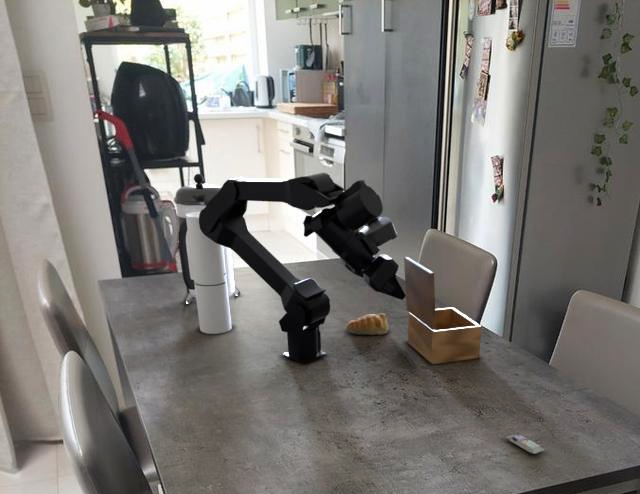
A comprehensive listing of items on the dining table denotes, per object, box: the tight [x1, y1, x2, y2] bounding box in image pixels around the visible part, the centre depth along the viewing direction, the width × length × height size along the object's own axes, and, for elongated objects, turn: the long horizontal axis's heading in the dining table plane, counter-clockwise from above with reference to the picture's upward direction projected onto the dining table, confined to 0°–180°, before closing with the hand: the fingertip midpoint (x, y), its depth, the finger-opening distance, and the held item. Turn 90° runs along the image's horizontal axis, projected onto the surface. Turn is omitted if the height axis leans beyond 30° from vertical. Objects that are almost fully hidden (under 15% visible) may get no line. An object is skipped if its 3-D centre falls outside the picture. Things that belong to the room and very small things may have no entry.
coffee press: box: [173, 173, 241, 305], centre depth 171 cm, size 17×16×30 cm
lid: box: [403, 256, 436, 330], centre depth 140 cm, size 11×14×1 cm
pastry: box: [345, 312, 389, 336], centre depth 158 cm, size 9×7×4 cm
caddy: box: [407, 306, 483, 365], centre depth 146 cm, size 11×14×7 cm
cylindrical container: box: [186, 211, 232, 335], centre depth 154 cm, size 7×7×25 cm
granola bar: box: [506, 433, 545, 455], centre depth 111 cm, size 7×2×1 cm, turn 31°
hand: (395, 291), depth 138 cm, fingers open, 9 cm apart
